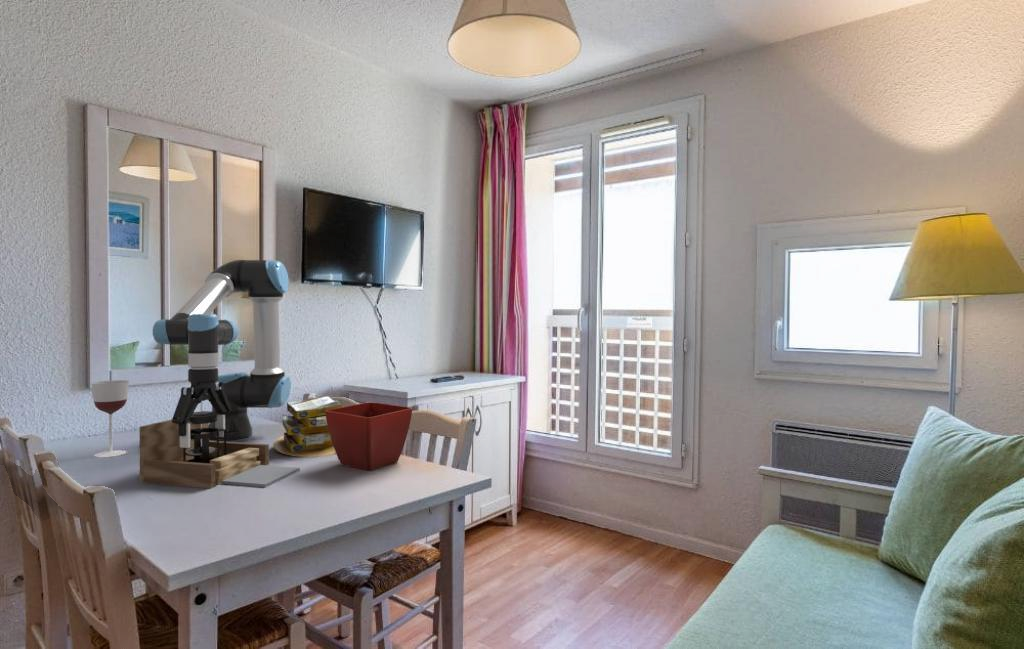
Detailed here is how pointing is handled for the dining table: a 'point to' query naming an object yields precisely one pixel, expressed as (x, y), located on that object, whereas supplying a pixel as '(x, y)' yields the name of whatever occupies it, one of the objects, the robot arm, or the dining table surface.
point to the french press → (203, 437)
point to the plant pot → (368, 433)
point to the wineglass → (110, 405)
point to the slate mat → (261, 476)
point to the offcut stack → (234, 463)
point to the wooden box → (166, 456)
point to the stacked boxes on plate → (307, 428)
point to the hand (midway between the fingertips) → (203, 441)
